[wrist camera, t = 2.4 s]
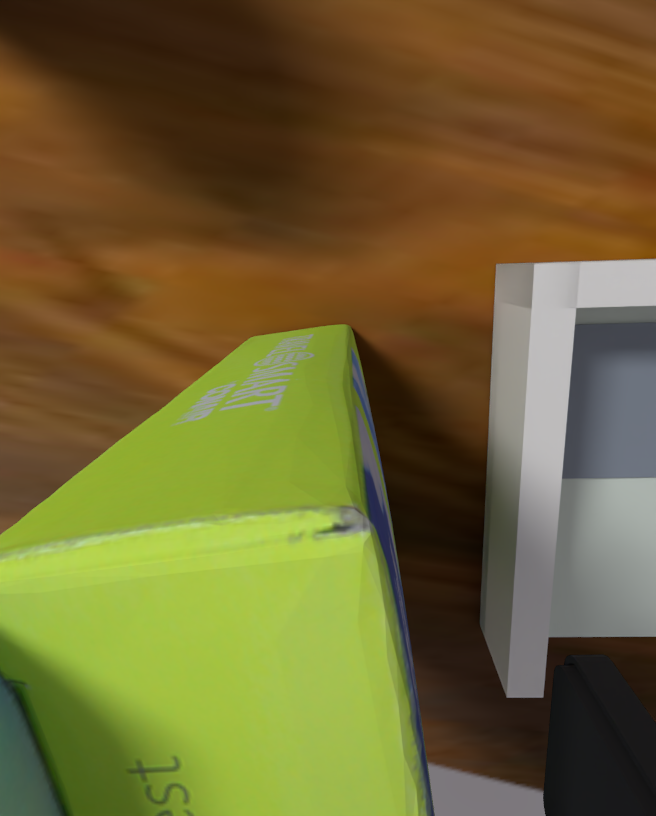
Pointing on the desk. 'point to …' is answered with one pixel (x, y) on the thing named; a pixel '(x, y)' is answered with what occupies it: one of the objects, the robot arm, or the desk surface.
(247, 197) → the desk surface
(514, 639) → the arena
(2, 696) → the box
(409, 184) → the desk surface
